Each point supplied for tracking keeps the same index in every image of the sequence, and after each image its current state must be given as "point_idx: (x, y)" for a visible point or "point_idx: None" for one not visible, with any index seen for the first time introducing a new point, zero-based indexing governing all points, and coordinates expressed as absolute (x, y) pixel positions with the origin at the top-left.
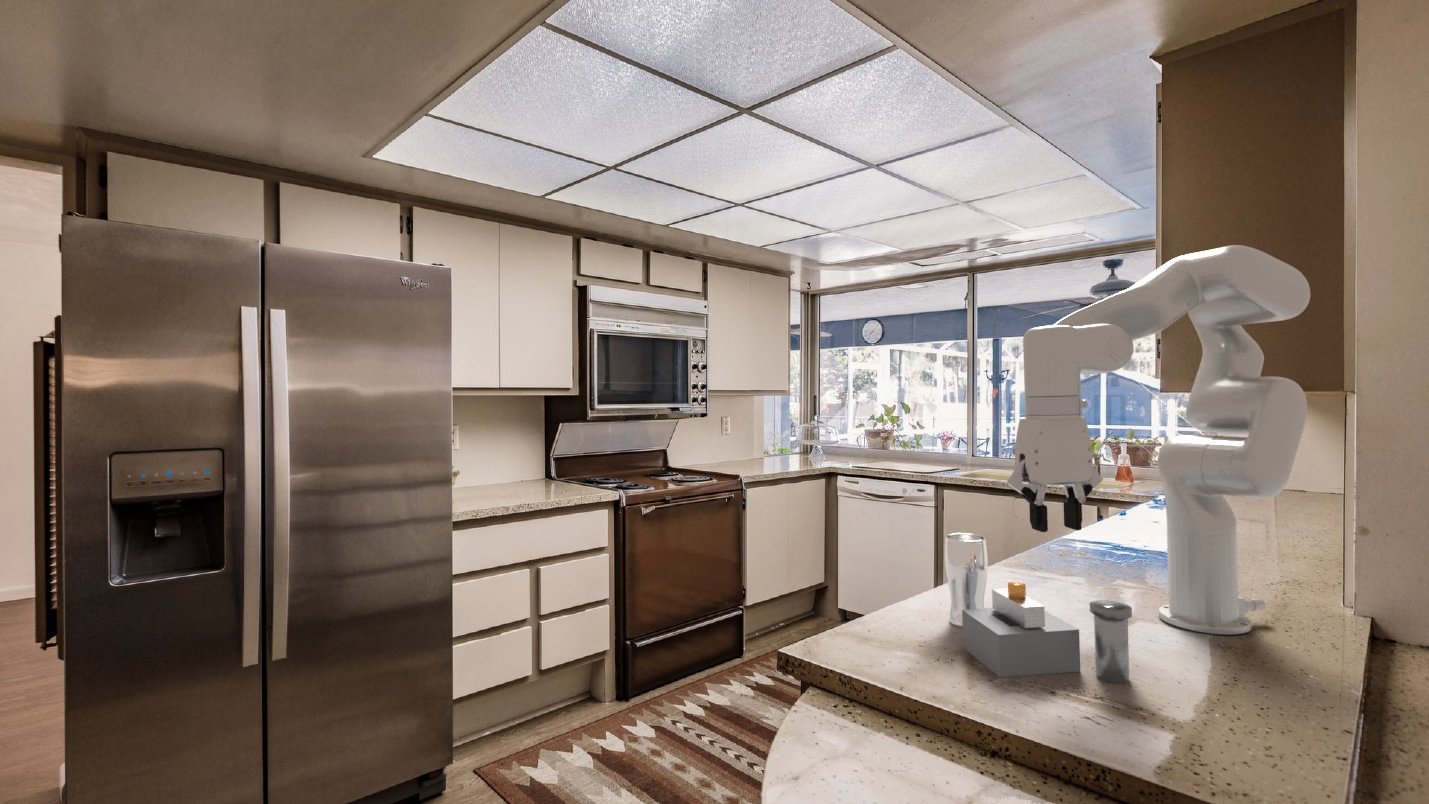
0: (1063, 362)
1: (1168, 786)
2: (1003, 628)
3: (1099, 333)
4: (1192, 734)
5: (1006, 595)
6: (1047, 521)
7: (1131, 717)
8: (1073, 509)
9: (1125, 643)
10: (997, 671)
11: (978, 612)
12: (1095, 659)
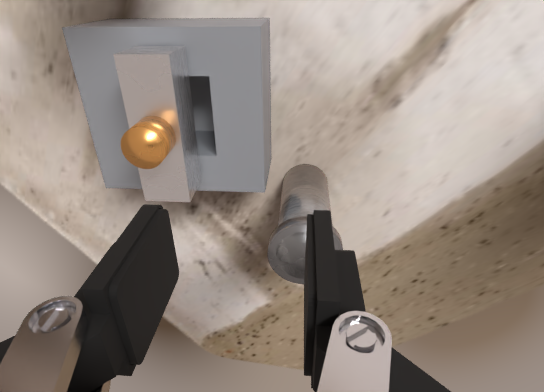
0: None
1: (204, 349)
2: (125, 160)
3: None
4: (287, 304)
5: (134, 117)
6: (166, 305)
7: (251, 270)
8: (304, 340)
9: None
10: None
11: (98, 56)
12: (284, 186)
